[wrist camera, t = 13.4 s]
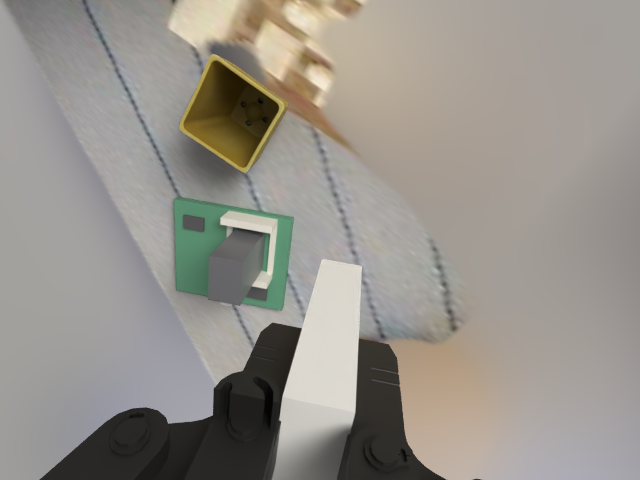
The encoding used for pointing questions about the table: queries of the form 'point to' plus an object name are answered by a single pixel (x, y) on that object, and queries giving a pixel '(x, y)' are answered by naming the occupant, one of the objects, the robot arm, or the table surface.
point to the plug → (235, 266)
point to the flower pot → (232, 114)
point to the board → (212, 229)
